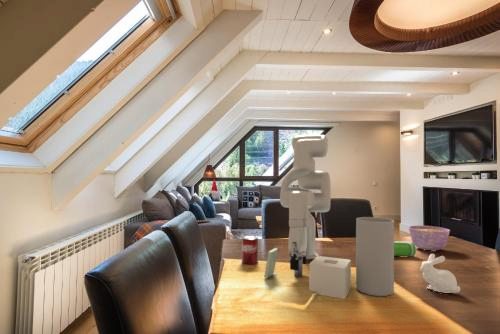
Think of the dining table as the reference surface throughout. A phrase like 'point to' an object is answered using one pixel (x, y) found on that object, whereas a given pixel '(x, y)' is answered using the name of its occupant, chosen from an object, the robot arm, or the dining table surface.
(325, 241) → the dining table surface
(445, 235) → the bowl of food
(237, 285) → the dining table surface
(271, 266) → the plate
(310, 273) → the hitch block
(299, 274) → the silver knob
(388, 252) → the cylinder vase
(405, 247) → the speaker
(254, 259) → the soda can
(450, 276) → the rabbit
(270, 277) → the hinge foot
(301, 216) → the robot arm
